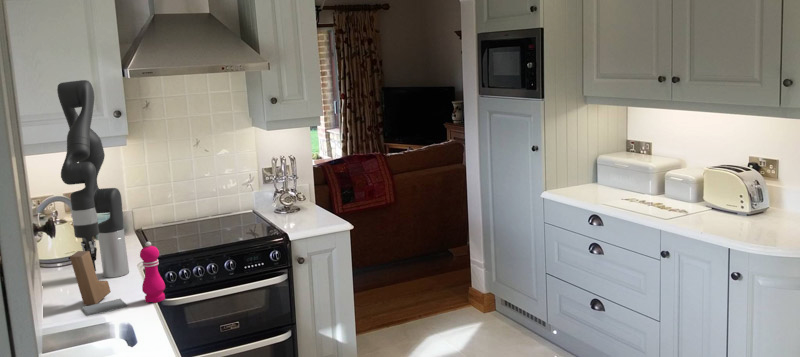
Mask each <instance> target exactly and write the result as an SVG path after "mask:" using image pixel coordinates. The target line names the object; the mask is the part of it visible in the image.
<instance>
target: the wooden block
mask: <svg viewBox="0 0 800 357" xmlns="http://www.w3.org/2000/svg"><path fill="white" fill-rule="evenodd" d="M69 259H70V263H71V265H72V270H73V273H74V275H75V279H76V282H77V285H78V289H79V293H80V296H81V299H82V303H83V306H90V305H94V304H99V303H101V301H102V300H103V299H104V298H106V297H107V296H108V295H109V294H110V293H112V292H111V291H112V290H111V287H110V284H109V281H108V280H99V278H98V277H97V272H95V269H94V266H93V262H92V259H91V255H90V252H89V251H83V250H78V251H76V252H75V253H73V254H72V255H70V257H69Z"/></svg>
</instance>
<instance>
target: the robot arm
mask: <svg viewBox="0 0 800 357" xmlns="http://www.w3.org/2000/svg"><path fill="white" fill-rule="evenodd" d="M56 91H57V96H58V100H59V103H60V106H61V109H62V111H63V114H64V117H65V119H66V123H67V125H68V129H69V130H68V132H67V135H66V155H65V158H64V161H63V164H62V166H61V171H60V178H61V180H62V182H63V183H64V184H65V185H69V186H73V185H81V184H84V188H82V189H80V190H79V189H78V190H76V191H72V193H70V197H69V198H70V205H71V211H72V212H71V214H72V215H71V218H72V225H73V231H74V237H75V239H76V238H77V239H81V240H82V241H80V246H81V248H82V251H89V252H90V255H91V259H92V262H93V266H94V269H95V273H97V269H96V261H97V251H98V250H97V249H98V248H97V247H96V246H97V245H96V244H97V242H96V240H94V237H96V236H97V239H98V247H99V253H100V260H101V268H102V273H103V274H102V275H103V277H104V278H118V277H122V276H125V275H128V274H129V273H130V266H129V260H128V259H129V258H128V254H127V253H128V252H127V245H126V244H127V243H126V235H125V228H124V214H123V200H122V194H121V192H120V190H119V188H118V187H117V188H116V187H108V188H100V187H99V186H98V185H99V184H98V176H99V172H100V170H101V169H102V165H103V164H104V161H105V157H106V155H105V150H104V146H103V143H102V139H101V137H100V136H99V135H98V134H97V132H95V131H94V130H93V128H91V127H92V120H93V119H92V118H93V112H94V106H95V91H94V87H93V85H92V84H91V82H90V80H87V79H82V80H81V79H80V80H72V81H64V82H59V84H58V85H57V89H56ZM77 108H78V109H79V108H81V109H80V112H79V113H78V112H77V110H76V109H77ZM98 214H109V218H107V219H106V220H104V221H101V222H99V223H98Z"/></svg>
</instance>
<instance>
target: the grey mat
mask: <svg viewBox="0 0 800 357" xmlns="http://www.w3.org/2000/svg"><path fill="white" fill-rule="evenodd" d="M126 307H128V305H127V303H126V302H125V301H123V300H122V299H121V298H116V299H112V300H106V301H103V302H98V303H97V304H94V305H85V306H82V308H81V309H82V311H84V313H85V314H86V315H87V316H92V315H96V314H100V313H104V312H108V311H113V310H116V309H121V308H126Z"/></svg>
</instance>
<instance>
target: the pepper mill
mask: <svg viewBox="0 0 800 357" xmlns="http://www.w3.org/2000/svg"><path fill="white" fill-rule="evenodd" d="M139 257H140V259H141V260H142V267H144V271H145V274H144V275H145V276H144V279H143V282H142V288H141V289H142V293H144V294H145V296H144V301H146V302H145V303H147V302H148V303H147V304H150V303H149V302H153V303H152V304H156V303H161V302H163V301H165V299H166V295H165V294H166V293H165V292H164V291H165V289H166V284H165V281H164V280H163V277H162V276H161V274H160V272H159V269H158V266H159V264H160V263H159V259H158V258H159V257H160V251H159V249H158V248H157V247H156V246H154V245H152V242H150V241H146V242H145V246H144V247H143V248H142V249H140V252H139Z"/></svg>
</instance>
